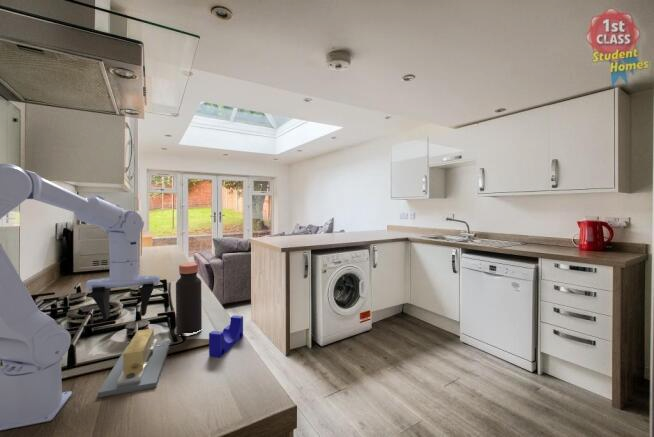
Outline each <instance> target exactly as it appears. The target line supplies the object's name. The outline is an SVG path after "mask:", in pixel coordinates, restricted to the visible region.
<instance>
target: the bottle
mask: <svg viewBox="0 0 654 437" xmlns="http://www.w3.org/2000/svg"><path fill="white" fill-rule="evenodd" d="M198 266H199V265H198V263H195V262H187V263H185V262H184V263H180V264H179V266H178V269H179V270H178V273H179V276H180V278H179V279H177V281H176V282H175V326H176V328H175V332H176V333H177V334H176V335H177V336H178V335H181V334H182V333H193V332H197V331H199V330H201V329H202V330H203V328H202V327H203V324H202V323H203V321H202V320H203V319H202V318H203V317H202V313H203V312H202V307H203V305H202V304H203V303H202V279H201V278H200V277H198V272H199V271H198V270H199V267H198ZM202 330H201V331H202Z"/></svg>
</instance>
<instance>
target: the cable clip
mask: <svg viewBox="0 0 654 437" xmlns="http://www.w3.org/2000/svg"><path fill="white" fill-rule="evenodd" d="M243 337H244V316H243V315H234V314H233V315H232V316H230V322H229V324H228V325H227V326H225V327H224V328H223V330H222V331H219V330H218V331H217V330H212V331H210V332H209V333H208V341H209V342H208V356H209V357H212V358H219V359H220V358H222V357H223V356H224V355H225V354H226V353H227V352H228V351H230V349H231V348H232V347H233V346H235V345H236V344H237V342H239V341H240V340H241V339H242V338H243Z"/></svg>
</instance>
